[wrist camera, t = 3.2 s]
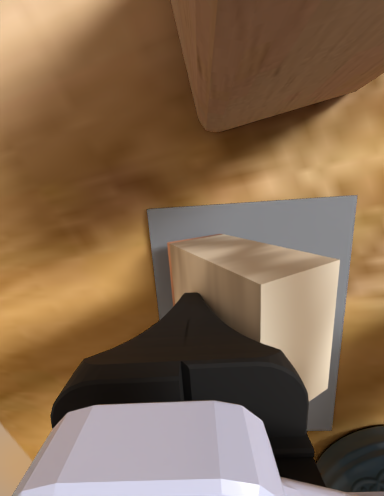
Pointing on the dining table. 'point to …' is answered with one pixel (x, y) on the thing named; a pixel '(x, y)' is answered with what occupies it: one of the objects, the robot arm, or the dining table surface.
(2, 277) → the dining table surface
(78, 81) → the dining table surface
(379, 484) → the canister
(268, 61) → the wooden block
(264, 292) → the ash block
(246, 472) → the robot arm
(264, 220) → the felt mat
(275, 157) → the dining table surface
